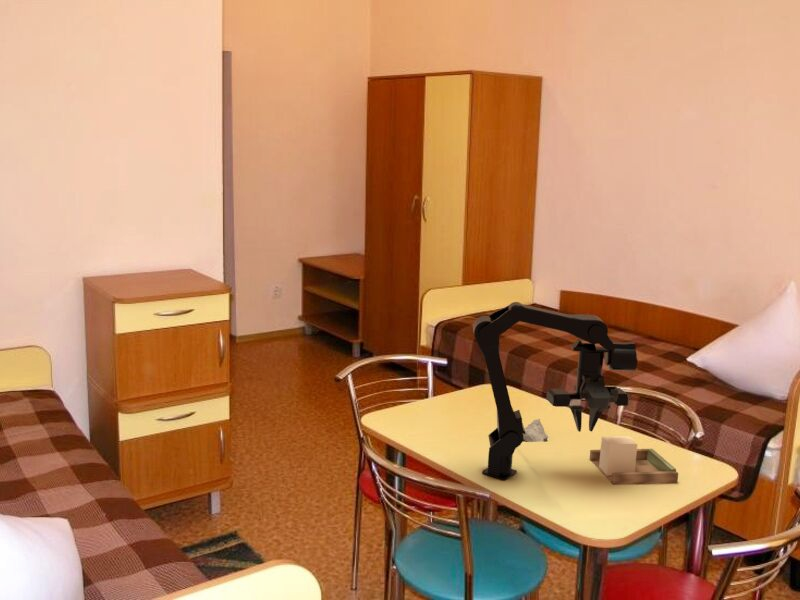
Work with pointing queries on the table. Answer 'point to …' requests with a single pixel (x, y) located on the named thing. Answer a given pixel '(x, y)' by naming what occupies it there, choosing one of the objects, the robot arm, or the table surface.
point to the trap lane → (642, 469)
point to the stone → (535, 432)
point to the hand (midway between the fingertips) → (584, 431)
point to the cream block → (617, 454)
